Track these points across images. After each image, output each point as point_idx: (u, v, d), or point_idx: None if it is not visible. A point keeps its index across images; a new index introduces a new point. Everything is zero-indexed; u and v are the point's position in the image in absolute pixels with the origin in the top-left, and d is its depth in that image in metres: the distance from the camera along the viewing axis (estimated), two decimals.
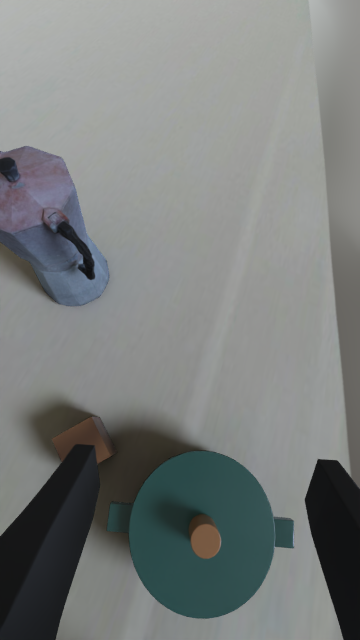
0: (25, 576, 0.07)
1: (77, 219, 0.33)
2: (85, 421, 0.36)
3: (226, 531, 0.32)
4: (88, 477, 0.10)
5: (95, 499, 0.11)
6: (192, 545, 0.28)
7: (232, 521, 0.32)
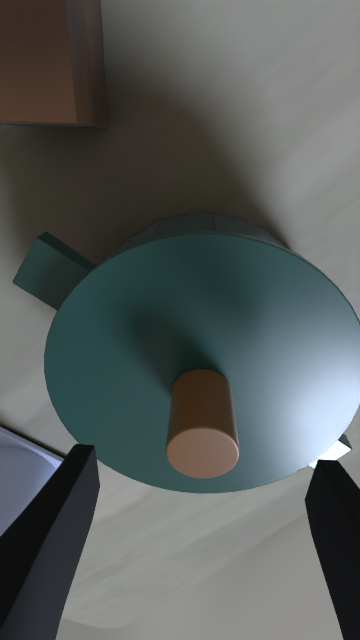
0: (25, 576, 0.07)
1: None
2: None
3: (241, 416, 0.15)
4: (88, 477, 0.10)
5: (95, 499, 0.11)
6: (170, 446, 0.12)
7: (263, 410, 0.15)
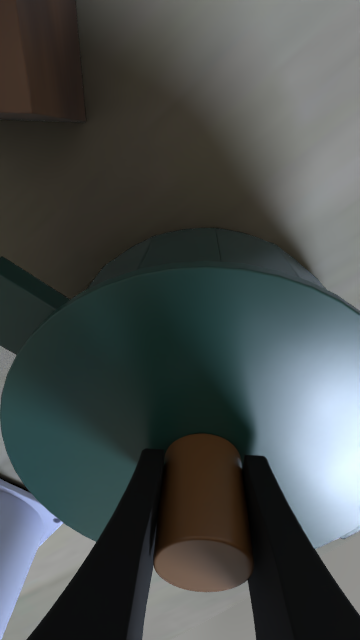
0: (134, 584, 0.07)
1: None
2: None
3: None
4: (161, 482, 0.10)
5: None
6: (158, 558, 0.08)
7: (280, 481, 0.12)
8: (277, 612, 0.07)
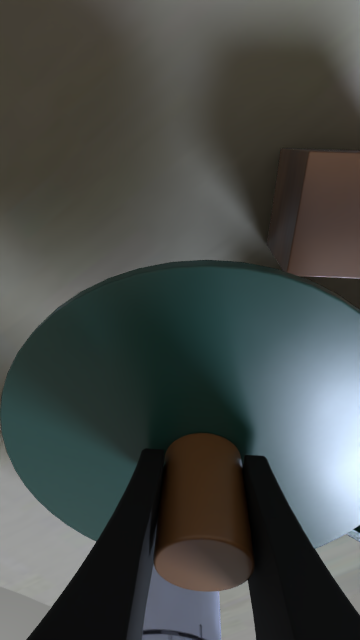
0: (133, 584, 0.07)
1: None
2: None
3: None
4: (161, 482, 0.10)
5: None
6: (159, 558, 0.08)
7: (280, 480, 0.12)
8: (277, 612, 0.07)
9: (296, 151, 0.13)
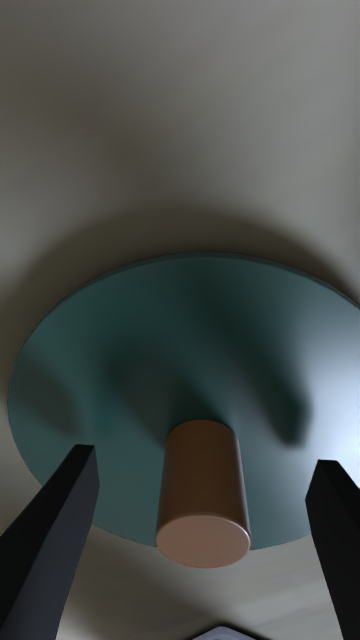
0: (25, 576, 0.07)
1: None
2: None
3: (250, 472, 0.12)
4: (88, 477, 0.10)
5: (95, 499, 0.11)
6: (160, 534, 0.09)
7: (277, 466, 0.12)
8: None
9: None
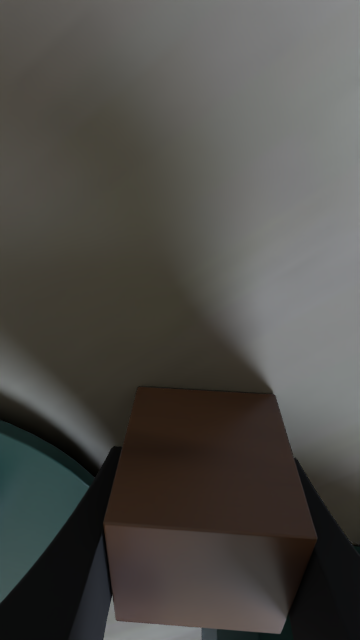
0: (85, 580, 0.07)
1: None
2: (280, 541, 0.07)
3: (10, 554, 0.15)
4: None
5: None
6: None
7: (29, 550, 0.14)
8: (324, 616, 0.07)
9: None
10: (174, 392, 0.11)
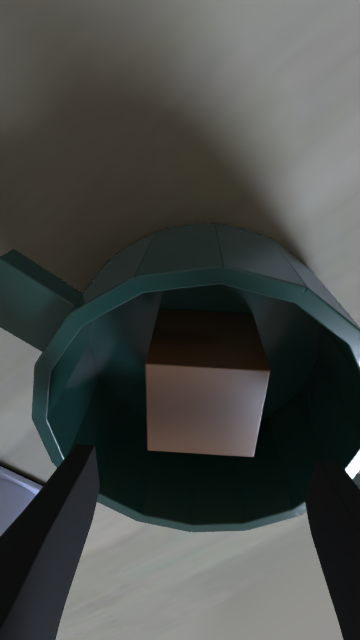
0: (25, 576, 0.07)
1: None
2: (248, 373, 0.12)
3: None
4: (88, 477, 0.10)
5: (95, 499, 0.11)
6: None
7: None
8: None
9: None
10: (184, 311, 0.16)
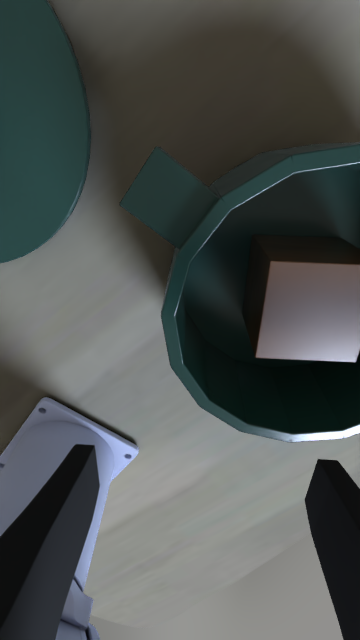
0: (25, 576, 0.07)
1: None
2: None
3: None
4: (88, 477, 0.10)
5: (95, 499, 0.11)
6: None
7: None
8: None
9: (262, 250, 0.15)
10: (277, 236, 0.17)
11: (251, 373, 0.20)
